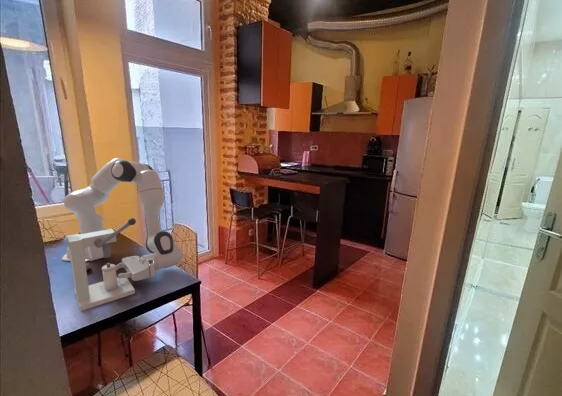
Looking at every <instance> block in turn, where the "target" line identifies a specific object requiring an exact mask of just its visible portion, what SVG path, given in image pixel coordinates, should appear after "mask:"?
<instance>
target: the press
mask: <svg viewBox="0 0 562 396" xmlns="http://www.w3.org/2000/svg"><path fill="white" fill-rule="evenodd" d="M136 223H137V220H136V219H135V218H134V217H130V218H129V219H128V220H127V222H126V223H124V224H123V225H122V226H120V227H119V228H118V229H116V230H114V229H113V228H110V229H109V228H108V229H104V230H102V231H96V232H91V233H85V234H80V235H79V234H78V233H76V234H71V235H66V239H67V243H68V244H67V247H69V253H70V259H71V261H70V263H71V270H72V271H71V272H72V278H73V283H74V284H73V285H74V294H75V299H76V301H77V304H78V307H79V311H80V312H81V311H84V310H88V309H91V308H95V307H97V306H100V305H103V304H107V303H110V302H112V301H115V300H119V299H122V298H124V297H128V296H131V295H134V294H136V290H135V288H134V286H133V285H132V283H131V282H130V281H129V278H121V279H119V278H118V276H117V285H118V287H117V288H115V289H113V290H105V288H104V280H102V281H99V282H97V283H93V284H90V285H89V279H88V274H87V266H86V262H85V258H84V251H83V248H86V247H91V246H96V247H97V248H100V247H102V250H103V258H104V259H106V258H107V259H108V258H111V257H112V250H111V249H112V248H111V243H114V242H115V243H116V242H117V235H119V234H120V233H122V232H123V231H124V230H126V229H127V228H129V227H130V226H134V225H136Z"/></svg>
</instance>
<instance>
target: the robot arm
mask: <svg viewBox="0 0 562 396" xmlns="http://www.w3.org/2000/svg"><path fill="white" fill-rule="evenodd" d="M90 180H91V184H89V185H88V186H86V187H84V188H81V189H77V190H73V191H72V192H70V193H68V194H67V195H66V196H65V197H64V198H63V203H64V204H63V205H64V207H65V208H66V209H67V210H68V211H70V212H72V213H73V214H74V215H75V217H76V219H77V222H78V226H79V231H80V232H78V233H77V234H79V235H80V234H85V233H91V232H96V231H102V230H105V228H104V220H103V216H102V215H100V214H98V213H97V212H96V209H95V208H96V207H97V206H100V205H102V204H104V203H106V202H107V201H108V199H109V198H110V193H111V192H112V191H113V190H114V188H116V187H117V186H118V185H119V184H120V183H121V182H122V183H123V182H124V183H130V184H136V185H137V187H138V193H139V198H140V201H141V205H142V210H143V213H144V214H143V215H144V219H145V228H146V231H147V232H146V233H147V235H146V236H147V237H146V240H145V248H146V251H148V252H149V253H147V254H144V255H142V256H139V255H132V256H126V257H122V258H121V262H119V263H118V264H114V265H115V266H116V271H118V270H119V269H124V270H125V271H126V272H124V273H123V272H120V273H117V277H118V278H119V279H121V278H127V279H129V278H131V279H132V281H134V282H135V281H137V282H138V281H142V280H145V279H147V278H154V277H156V272H158V271H160V270H163V269H168V268H171V267H174V266H177V265H178V264H180V263H181V262H182V260H183V250H182V248H181V247H180V246H178V245H177V243H176V242H175V240H174V239H173V238H174V237H173V236H172V234H171V233H170V232H169V231H161V226H160V220H159V218H160V217H159V215H160V211H161V209H162V208H163V205H164V203H165V194H164V188H163V185H162V181H161V178H160V176H159V173H158V172H157V171H155V170H154V169H153V167H152V166H151V165H148V164H146V163H142V162H139V161H131V160H130V161H129V160H125V159H123V158H121V157H115V158H112V159H111V160H109V161H108V162H107V163H105V164H104V165H103V166H102V167H101V168H100V169H99V170H98V171H97V172H96V173H95V174H94V175H93V176H92V177H91V179H90ZM83 251H84V258H85V259H89V261H90V262H91V261H92V262H93V261H95V260H99V259H102V258H104V257H103V250H102V247H100V248H97V247H96V246H91V247H86V248H83ZM61 261H63V262H71V259H70V253H69V246H67V248H66V253H65V254H64V255H63V256H62V258H61Z"/></svg>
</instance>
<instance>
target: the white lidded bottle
mask: <svg viewBox="0 0 562 396" xmlns="http://www.w3.org/2000/svg"><path fill="white" fill-rule="evenodd" d="M115 265H116V264H113V263H110V262H107V263H106V264H104V265H103V266H102V267H101V271H102V278H103V280H102V281H104V288H105V290H113V289H115V288H117V287H118V285H117V277H118V275H117V270H116V266H115Z"/></svg>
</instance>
